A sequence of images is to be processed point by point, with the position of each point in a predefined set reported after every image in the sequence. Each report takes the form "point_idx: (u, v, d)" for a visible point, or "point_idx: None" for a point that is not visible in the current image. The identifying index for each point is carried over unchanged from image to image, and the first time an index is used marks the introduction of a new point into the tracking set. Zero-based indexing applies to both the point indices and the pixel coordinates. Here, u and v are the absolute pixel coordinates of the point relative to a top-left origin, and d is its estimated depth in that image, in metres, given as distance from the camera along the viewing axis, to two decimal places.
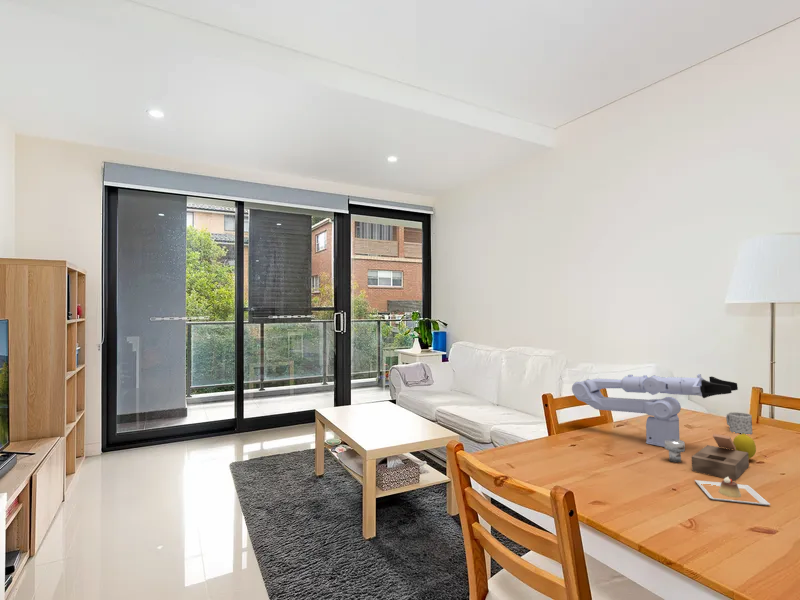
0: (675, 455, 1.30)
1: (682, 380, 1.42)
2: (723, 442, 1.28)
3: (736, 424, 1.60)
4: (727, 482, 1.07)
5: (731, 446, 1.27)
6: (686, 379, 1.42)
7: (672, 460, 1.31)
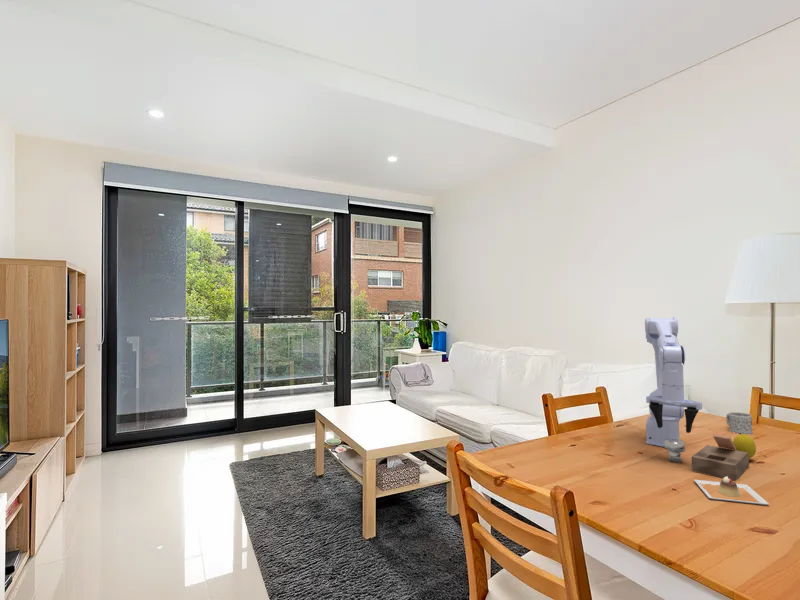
0: (675, 455, 1.30)
1: (663, 386, 1.32)
2: (723, 442, 1.28)
3: (736, 424, 1.60)
4: (726, 482, 1.07)
5: (731, 446, 1.27)
6: (664, 390, 1.32)
7: (672, 460, 1.31)
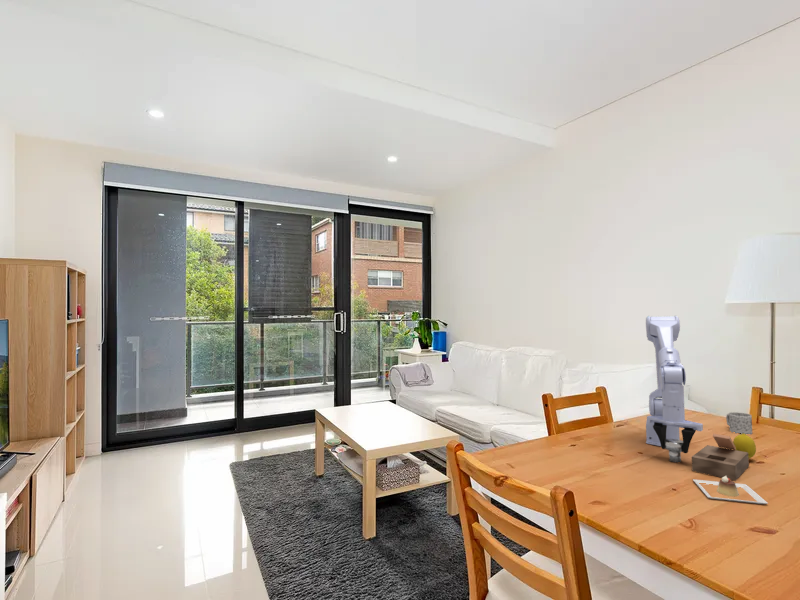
0: (675, 455, 1.30)
1: (664, 406, 1.32)
2: (723, 442, 1.28)
3: (736, 424, 1.60)
4: (725, 481, 1.08)
5: (731, 446, 1.27)
6: (665, 410, 1.32)
7: (672, 460, 1.31)
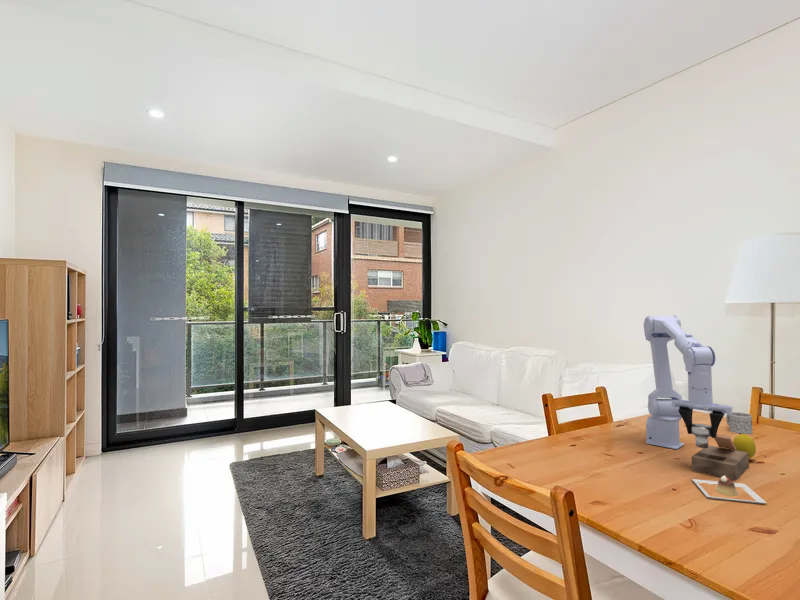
0: (702, 440, 1.24)
1: (690, 389, 1.26)
2: (723, 442, 1.28)
3: (736, 424, 1.60)
4: (724, 481, 1.08)
5: (731, 446, 1.27)
6: (691, 393, 1.25)
7: (699, 445, 1.24)
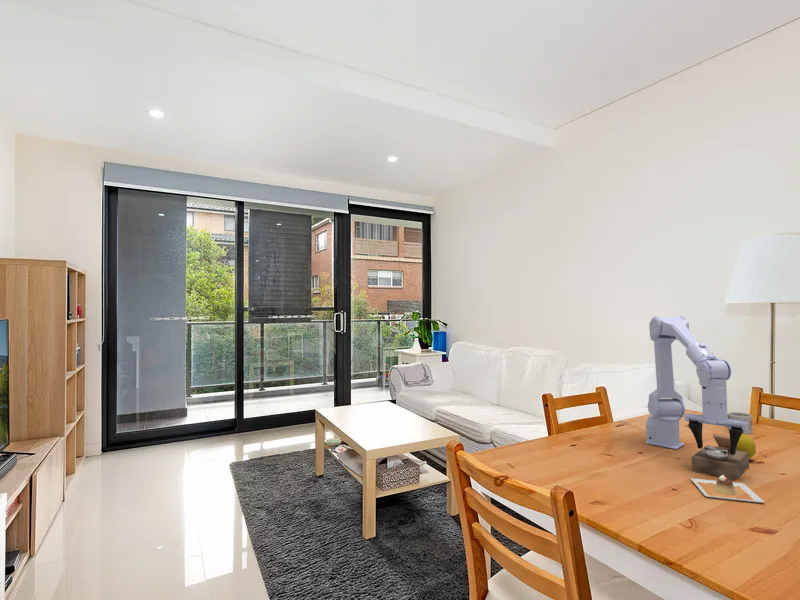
0: None
1: (704, 403, 1.23)
2: (723, 442, 1.28)
3: None
4: (722, 480, 1.08)
5: None
6: (706, 408, 1.22)
7: None
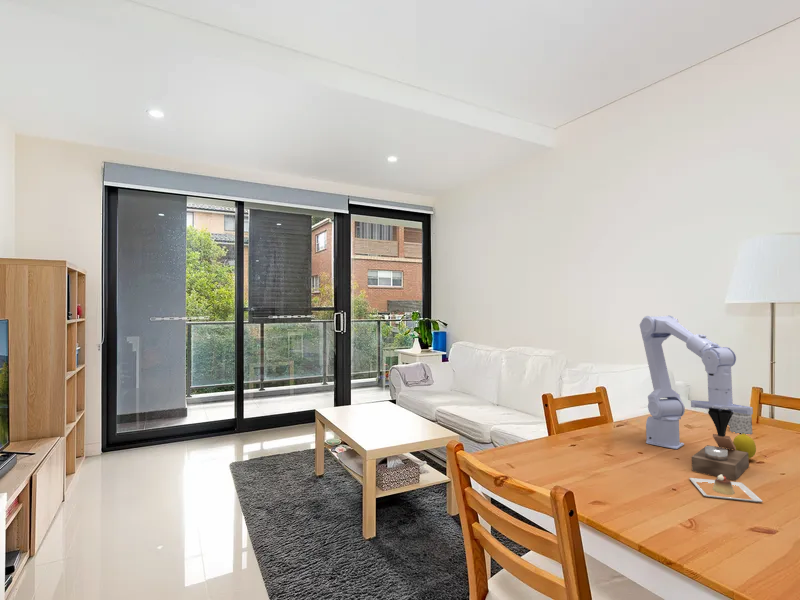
0: None
1: (710, 390, 1.27)
2: (723, 442, 1.28)
3: (736, 424, 1.60)
4: (721, 479, 1.09)
5: (731, 446, 1.27)
6: (711, 394, 1.26)
7: None
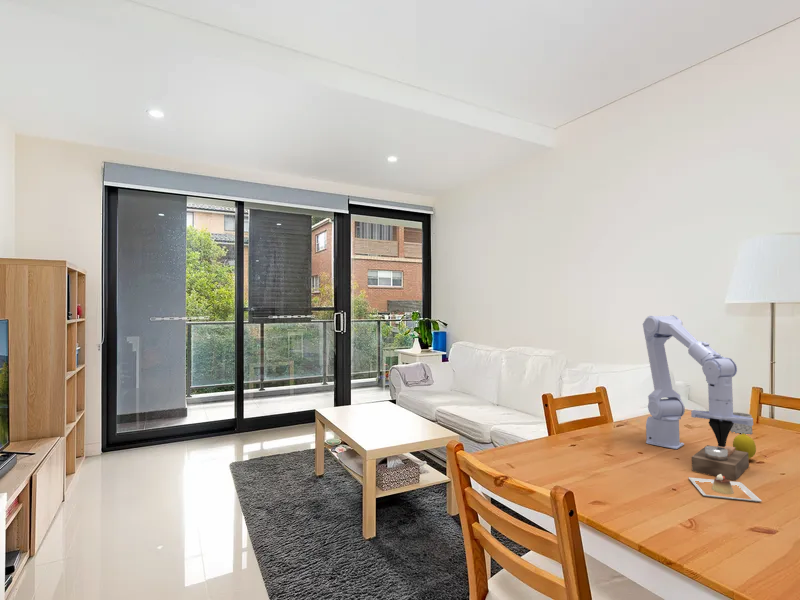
0: None
1: (710, 400, 1.27)
2: None
3: (736, 424, 1.60)
4: (720, 479, 1.09)
5: None
6: (712, 404, 1.26)
7: None
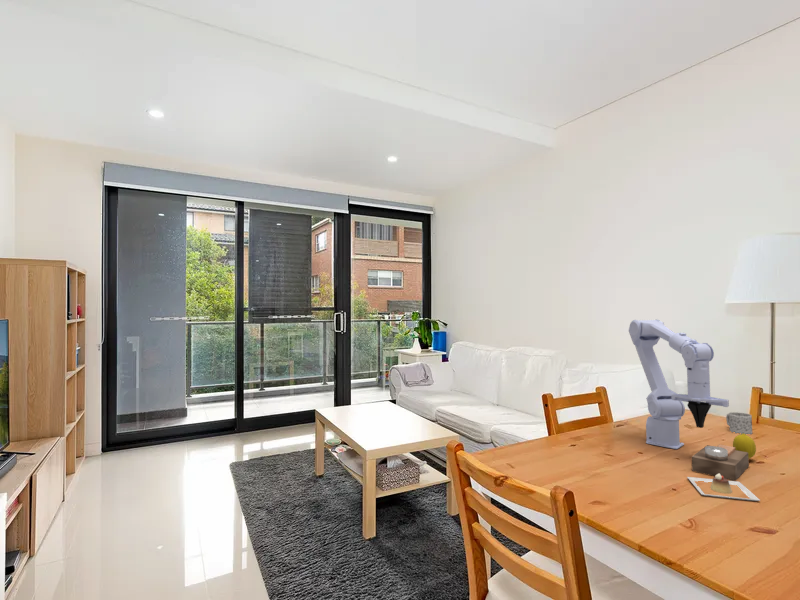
0: None
1: (689, 383, 1.33)
2: None
3: (736, 424, 1.60)
4: (718, 479, 1.09)
5: None
6: (690, 387, 1.33)
7: None
